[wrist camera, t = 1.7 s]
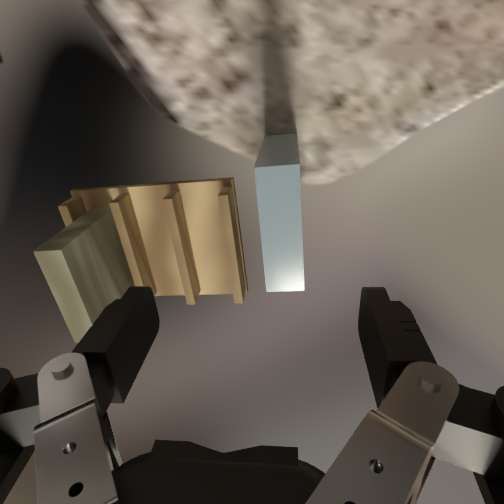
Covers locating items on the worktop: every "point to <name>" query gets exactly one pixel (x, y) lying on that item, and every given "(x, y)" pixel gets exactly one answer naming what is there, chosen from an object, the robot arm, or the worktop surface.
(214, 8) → the worktop surface
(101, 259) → the dish rack
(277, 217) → the pale blue-grey block
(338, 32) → the worktop surface
